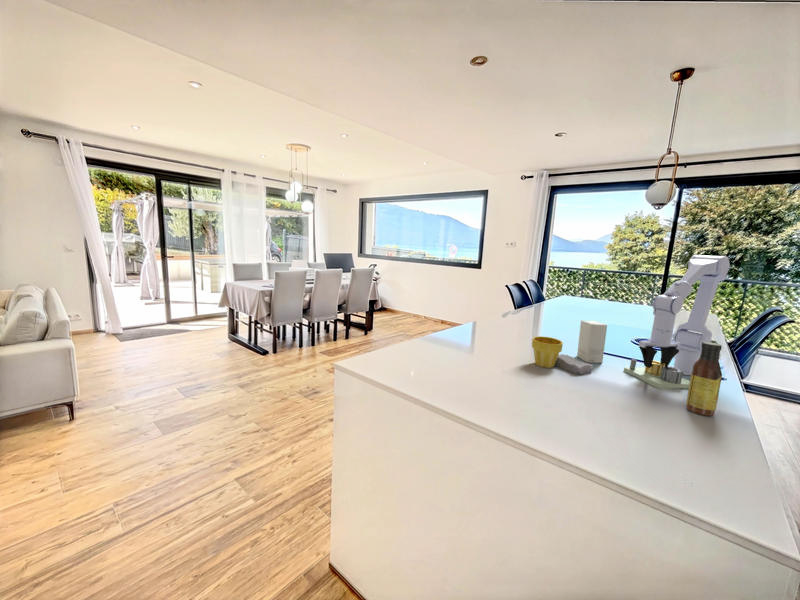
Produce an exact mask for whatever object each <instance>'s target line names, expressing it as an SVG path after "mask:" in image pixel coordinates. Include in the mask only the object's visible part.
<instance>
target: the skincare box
mask: <svg viewBox="0 0 800 600" xmlns="http://www.w3.org/2000/svg"><path fill="white" fill-rule="evenodd" d="M579 327H580V328H579V335H578V336H579V337H578V343H577V345H578V346H577V355H576V357H578V358H580V359H581V360H583V362H586V363H589V364H603V361H604V352H605V346H606V345H605V344H606V339H607V338H606V337H607V329H608V324H605V323H602V322H599V321H597V320H580V326H579Z"/></svg>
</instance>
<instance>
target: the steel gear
mask: <svg viewBox="0 0 800 600" xmlns="http://www.w3.org/2000/svg"><path fill="white" fill-rule="evenodd" d="M669 369H670V367H666V366H664V367H662V371H661V376H660V379H662V380H663V381H667V382H669V383H676V384H679V383H681V380H682V378H683V375H684V374H683V371H681V370H680V369H676V370H675V371H673V370H669Z"/></svg>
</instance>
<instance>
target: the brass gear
mask: <svg viewBox="0 0 800 600" xmlns="http://www.w3.org/2000/svg"><path fill="white" fill-rule="evenodd" d="M664 366H665V363H661V360H660V361H659V360H654V359H653V362H652V365H651V368H648V367H646V366H644V368H645V372H647V373H649V374H653V375H656V376H658V375H661V371H662V367H664Z"/></svg>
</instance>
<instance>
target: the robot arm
mask: <svg viewBox="0 0 800 600" xmlns="http://www.w3.org/2000/svg"><path fill="white" fill-rule="evenodd" d="M687 266H688V267H687V268H688V269H687V270H686V272H685V273H684V275H682V278H681V279H680V280H675V281H674V282H673V283H672V284H671V285H670V286H669V287H668V288H667V290H666V291H665V292H664V293H663V294H660V295H657V296H656V297H655V298H654V300H653V302H652V309H653V312H652V313H653V316H654V317H653V323H652V329H651V334H650V338H648V339H645V340H638V341H639V342H638V347H639V350H640V352H641V355H642V360H643V365H644V367H645V366H646V367H648V368H651V365H652V362H653V360H654V358H655V357H656V355H657V353H658V350H657V349H654V348H660V362H661V363H665V366H666V367H674V368H676V369H680V370H681V371H683V375H685V376H691V373H692V370H693V365H694V363H695V362H696V361H698V360H699V358H700V355H701V351H702V347H701V345H702V342H712V337H713V333H712V331H711V330H710V329H709V327H707V326H706V323H707V319H708V316H709V313H710V310H711V307H712V304H713V301H714V299H715V295H716V293H717V289H718V286H719V284H720V282H723V281H725V280H726V277H727V276H728V272H729V270H730V266H731V263H730V260H729V258H728V257H727V256H726V255H702V254H701V255H699V254H693V255H692V256H691V257H690V259H689V260H688V265H687ZM697 281H699V282H700V283H699V285H698V289H697V292H696V295H695V297H694V302H693V305H692V307H691V310H690V314H689V316H688V319H687V322H684V323H681V324H678V326H677V328H676V331H674V328H675V324H676V323H675V322H676V317H677V314H679V312H680V311H682V308H683V305H684V303H685V300H686V298H687V297H688V296H689V295H690V294H691V293H692V291H693V285H695V283H696V282H697ZM674 357H675V358H674ZM673 359H674V363H673V366H671V365H670V363H671V362H672V361H673ZM669 365H670V366H669Z"/></svg>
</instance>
